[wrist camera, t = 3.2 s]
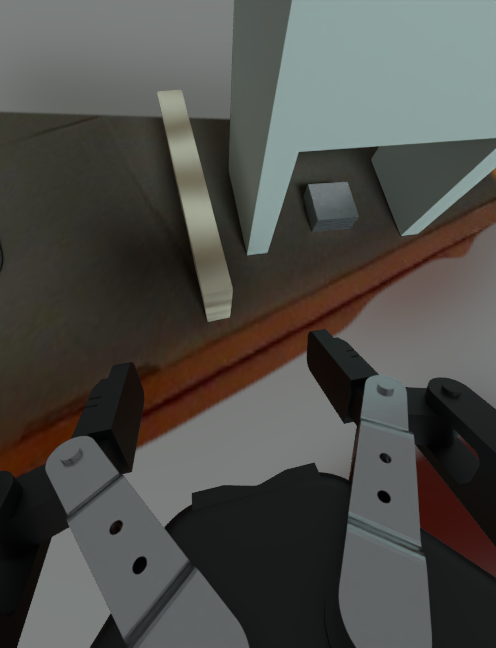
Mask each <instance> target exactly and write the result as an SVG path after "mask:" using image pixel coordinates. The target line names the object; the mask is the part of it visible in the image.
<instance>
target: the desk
mask: <svg viewBox="0 0 496 648" xmlns="http://www.w3.org/2000/svg"><path fill="white" fill-rule="evenodd" d="M233 20H234V22H233V50H232V51H233V52H232V83H231V113H230V144H229V175H230V179H231V184H232V189H233V193H234V198H235V202H236V207H237V212H238V216H239V221H240V225H241V230H242V235H243V239H244V244H245V248H246V253H247V255H253V254H261V253H267V252H268V249H269V246H270V243H271V239H272V236H273V233H274V230H275V227H276V223H277V220H278V217H279V214H280V210H281V207H282V204H283V201H284V198H285V194H286V191H287V188H288V185H289V182H290V178H291V175H292V172H293V169H294V165H295V162H296V159H297V156H298V153H299V152H304V151H318V150H332V149H346V148H361V147H375V146H379V147H378V149H377V151H376V152H375V154H374V155H373V157H372V159H371V161H372V164H373V166H374V169H375V171H376V174H377V177H378V179H379V182H380V184H381V187H382V189H383V192H384V194H385V197H386V200H387V202H388V205H389V207H390V210H391V212H392V215H393V217H394V220H395V222H396V225H397V228H398V230H399V233H400V235H401V236H404V235H412V234H418V233H419V232H420V231H422V230H423V229H424V228H425V227H426V226H428V225H429V224H430V223H431V222H432V221H433V220H435V219H436V218H437V217H438V216H439V215H440V214H442V213H443V212H444V211H445V210H446V209H448V208H449V207H450V206H451V205H452V204H453V203H455V202H456V201H457V200H458V199H459V198H460V197H462V196H463V195H464V194H465V193H466V192H468V191H469V190H470V189H471V188H472V187H473V186H475V185H476V184H477V183H478V182H479V181H480V180H482V179H483V178H484V177H485V176H486V175H488V174H489V173H490V172H491V171H492V170H493V169H495V168H496V0H234V19H233Z"/></svg>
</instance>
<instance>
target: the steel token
mask: <svg viewBox="0 0 496 648" xmlns="http://www.w3.org/2000/svg"><path fill="white" fill-rule="evenodd" d="M303 199H304V203H305V207H306V211H307V215H308V219H309V222H310V226H311V230H312V232H314V231H326V230H337V229H348V228H351V227H352V226H353V224H354V223H355V222H356V220H357V219H358V218H359V216H358V213H357V210H356V207H355V203H354V200H353V197H352V194H351V191H350V188H349V185H348V182H339V183H322V184H308V186H307V189H306V191H305V194H304V196H303Z"/></svg>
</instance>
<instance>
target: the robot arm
mask: <svg viewBox="0 0 496 648" xmlns="http://www.w3.org/2000/svg"><path fill="white" fill-rule="evenodd" d="M1 264H2V253H1V249H0V269H1ZM307 364H308V367H309V370H310V371H311V373H312V375H313V376H314V378H315V379H316V381H317V382H318V384H319V385H320V387H321V389H322V390H323V391H324V393H325V394H326V396H327V398H328V399H329V401H330V403H331V404H332V406H333V407H334V409H335V410H336V412H337V413H338V415H339V417H340V418H341V420H342V421H343V423H344V424H345V423H350V422H355V424H356V425H357V429H356V434H355V441H354V447H353V454H352V462H351V467H350V473H349V479H348V480H347V479H345V478H342V477H340V476H337V475H334V474H329V473H321V472H318V470H317V468H316V465H315V463H311V464H307V465H303V466H299V467H295V468H291V469H287V470H285V471H283V472H281V473H279V474H277V475H276V476H274V477H272V478H271V479H269V480H267V481H265V482H263V483H262V484H260V485H257V486H234V485H233V486H232V485H223V486H219V487H215V488H211V489H207V490H203V491H199V492H195V493H192V505H190V506H188V507H187V508H185V509H184V510H182V511H181V512H180V513H178V514H177V515H176V516H175V517H174V518H173V519H172V520H171V521H170V522H169V523H168V524H167V525H166V526H165V528H164V527H163V526H162V525H161V523H160V522H159V521H158V519H157V518H156V517H155V515H154V514H153V513H152V512H151V510H150V509H149V508H148V506H147V505H146V504H145V502H144V501H143V500H142V499H141V497H140V496H139V495H138V494H137V492H136V491H135V489H134V488H133V487H132V486H131V484H130V483H129V482H128V480H127V479H126V478H125V477H124V475H123V474H125V473H129V472H132V468H133V462H134V456H135V451H136V445H137V440H138V434H139V429H140V423H141V418H142V412H143V406H144V391H143V388H142V385H141V382H140V379H139V376H138V374H137V371H136V368H135V365H134V364H133V363H132V362H130V363H124V364H119V365H114V366H113V367H112V369H111V372H110V374H109V377H108V378H106V379H101V381H100V382H99V383H98V384H97V385H96V386H95V387H94V388H93V389H92V392H91V394H90V396H89V398H88V399H89V400H88V401H87V403H86V405H85V409H84V410H83V412H82V415H81V417H80V419H79V422H78V424H77V426H76V428H75V431H74V433H73V435H72V438H71V439H70V440H68V441H66V442H65V443H63V444H62V445H60V446H59V447H58V448H57V449H56V450H55V451H54V452H53V453H52V454H51V455H50V457H49V458H48V460H47V462H46V464H45V465H43V466H41V467H39V468H36V469H34V470H32V471H30V472H28V473H26V474H23V475H21V476H19V477H17V478H15V477H14V476H13V475H12V474H11V473H10V472H8V471H0V648H17V646H18V642H19V639H20V636H21V633H22V630H23V627H24V623H25V620H26V617H27V614H28V611H29V608H30V604H31V601H32V598H33V595H34V592H35V588H36V585H37V582H38V579H39V576H40V573H41V570H42V567H43V563H44V560H45V557H46V554H47V550H48V548H49V544H50V541H51V538H52V537H53V536H54V535H56V534H58V533H60V532H61V531H63V530H65V529H66V528H69V527H70V529H71V531H72V533H73V535H74V537H75V539H76V541H77V543H78V545H79V548H80V550H81V552H82V554H83V556H84V558H85V560H86V562H87V564H88V566H89V568H90V570H91V572H92V574H93V577H94V578H95V581H96V583H97V585H98V587H99V589H100V591H101V593H102V595H103V597H104V599H105V601H106V603H107V606H108V608H109V610H110V612H111V614H110V616H109V617H108V619H107V620H106V622H105V624H104V625H103V627H102V629H101V630H100V632H99V634H98V635H97V637H96V638H95V640H94V642H93V643H92V645H91V647H90V648H496V578H495V577H494V576H492V575H491V574H489V573H488V572H486V571H485V570H483V569H482V568H480V567H479V566H477V565H476V564H474V563H473V562H471V561H470V560H468V559H467V558H465V557H464V556H462V555H461V554H459V553H458V552H456V551H455V550H453V549H452V548H450V547H449V546H447V545H446V544H444V543H443V542H441V541H440V540H438V539H437V538H435V537H434V536H432V535H431V534H429V533H428V532H426V531H425V530H423V529H422V528H420V523H419V508H418V492H417V475H416V459H415V445H416V446H417V447H418V449H419V450H420V451H421V452H422V454H423V455H424V456H425V457H426V459H427V460H428V461H429V463H430V464H431V465H432V466H433V467H434V469H435V470H436V471H437V473H438V474H439V475H440V477H441V478H442V479H443V480H444V482H445V483H446V484H447V485H448V487H449V488H450V489H451V491H452V492H453V493H454V494H455V496H456V497H457V498H458V499H459V501H460V502H461V503H462V505H463V506H464V507H465V508H466V510H467V511H468V512H469V514H470V515H471V516H472V517H473V519H474V520H475V521H476V522H477V524H478V525H479V526H480V528H481V529H482V530H483V531H484V533H485V534H486V535H487V536H488V538H489V539H490V540H491V542H492V543H493V544H494V545H495V547H496V409H495V408H493V407H492V406H491V405H490V404H488V403H487V402H486V401H485V400H483V399H482V398H481V397H480V396H478V395H477V394H476V393H475V392H473V391H472V390H471V389H470V388H468V387H467V386H466V385H464V384H462V383H460V382H458V381H456V380H453V379H449V378H434V379H432V380H430V381H429V383H428V386H427V388H408V387H404V385H403V384H402V383H401V382H399V381H398V380H396V379H394V378H392V377H388V376H384V375H379V374H378V373H377V372H376V371H375V370H374V369H373V368H372V367H371V366H370V365H369V364H368V363H367V362H366V361H365V360H364V359H363V358H362V357H361V356H359V354H358V353H357V352H356V351H354V349H353V348H352V347H351V346H350V345H349V344H348V343H347V342H345V341H344V340H341V339H340V338H338V337H337V338H333V337H332V335H331V334H330V333H329V332H328V331H327V330H326V329H323V330H317V331H311V332H309V334H308V345H307ZM458 434H459V435H461V437H462V438H463V439H464V440H465V441H466V442H467V443H468V444H469V445H470V446H471V447H472V448H473V449H474V450H475V451H476V453H477V454H478V457H479V459H478V458H477V457H476V456H475V455H474V454H473V453H472V452H471V451H470V450H469V449H468V448H467V447H466V446H465V445H464V444H463V443H462V442H461V441H460V440H459V439H458V438H457V436H458Z"/></svg>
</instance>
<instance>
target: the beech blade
mask: <svg viewBox="0 0 496 648" xmlns="http://www.w3.org/2000/svg"><path fill="white" fill-rule="evenodd" d="M157 94H158V99H159V103H160V108H161V113H162V118H163V123H164V127H165V132H166V137H167V142H168V147H169V152H170V156H171V161H172V165H173V170H174V174H175V179H176V183H177V188H178V192H179V197H180V201H181V205H182V210H183V214H184V219H185V223H186V228H187V232H188V237H189V241H190V246H191V250H192V255H193V259H194V263H195V268H196V272H197V277H198V281H199V286H200V290H201V295H202V299H203V304H204V308H205V312H206V317H207V321H208V322H209V321H214V320H218V319H223V318H228V317H230V312H231V303H232V293H233V288H232V284H231V280H230V276H229V272H228V268H227V264H226V261H225V257H224V253H223V249H222V245H221V241H220V237H219V233H218V229H217V226H216V222H215V218H214V214H213V210H212V206H211V202H210V198H209V194H208V191H207V187H206V183H205V179H204V175H203V171H202V167H201V163H200V159H199V156H198V152H197V148H196V144H195V140H194V136H193V132H192V128H191V125H190V121H189V117H188V113H187V109H186V105H185V101H184V97H183V94H182V90H170V91H158V92H157Z"/></svg>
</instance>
